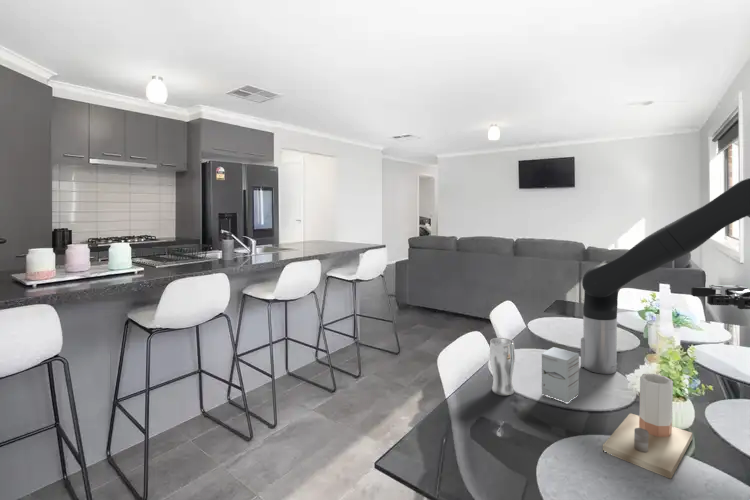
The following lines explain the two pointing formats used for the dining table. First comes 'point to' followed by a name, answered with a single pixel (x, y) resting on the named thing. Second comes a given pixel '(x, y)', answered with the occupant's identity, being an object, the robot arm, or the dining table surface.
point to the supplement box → (560, 374)
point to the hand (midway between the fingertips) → (699, 295)
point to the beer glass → (502, 365)
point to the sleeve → (656, 404)
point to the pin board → (648, 447)
